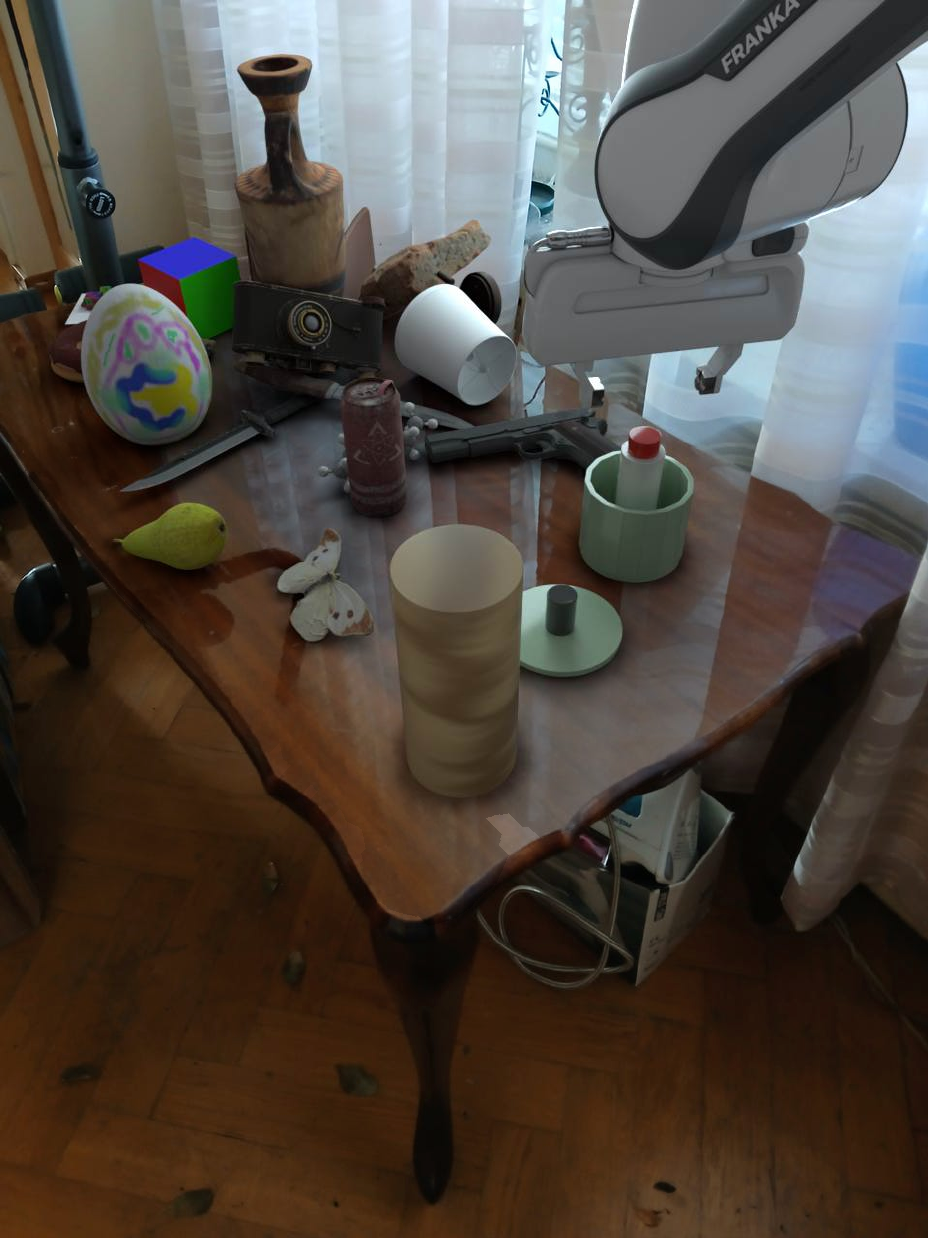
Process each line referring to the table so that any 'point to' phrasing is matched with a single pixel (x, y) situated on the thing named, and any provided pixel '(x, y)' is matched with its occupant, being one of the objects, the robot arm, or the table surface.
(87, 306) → the thin white sheet
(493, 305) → the light fixture
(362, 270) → the letter holder
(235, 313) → the camera
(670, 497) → the pot
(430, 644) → the pedestal
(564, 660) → the pot lid
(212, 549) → the fruit
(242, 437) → the knife
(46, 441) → the table surface
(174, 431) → the decorative egg
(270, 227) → the vase
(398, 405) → the can
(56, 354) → the donut
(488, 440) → the handgun
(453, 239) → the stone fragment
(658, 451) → the spice bottle
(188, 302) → the cube
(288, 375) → the knife
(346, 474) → the molecular model
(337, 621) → the butterfly
